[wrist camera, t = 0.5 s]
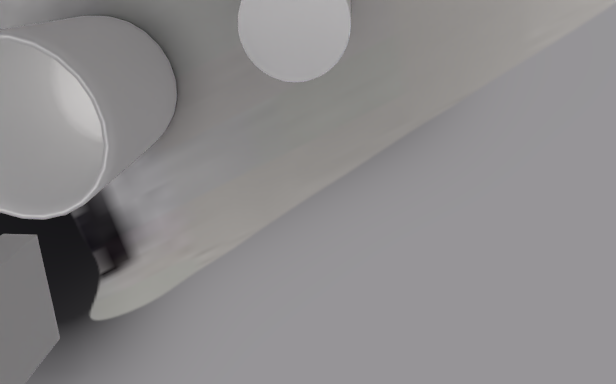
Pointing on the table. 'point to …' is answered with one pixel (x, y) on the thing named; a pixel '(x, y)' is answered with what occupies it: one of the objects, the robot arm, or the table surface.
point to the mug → (76, 109)
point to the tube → (294, 36)
